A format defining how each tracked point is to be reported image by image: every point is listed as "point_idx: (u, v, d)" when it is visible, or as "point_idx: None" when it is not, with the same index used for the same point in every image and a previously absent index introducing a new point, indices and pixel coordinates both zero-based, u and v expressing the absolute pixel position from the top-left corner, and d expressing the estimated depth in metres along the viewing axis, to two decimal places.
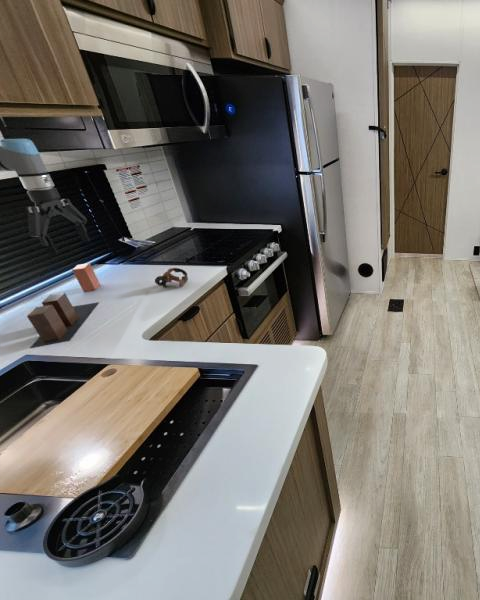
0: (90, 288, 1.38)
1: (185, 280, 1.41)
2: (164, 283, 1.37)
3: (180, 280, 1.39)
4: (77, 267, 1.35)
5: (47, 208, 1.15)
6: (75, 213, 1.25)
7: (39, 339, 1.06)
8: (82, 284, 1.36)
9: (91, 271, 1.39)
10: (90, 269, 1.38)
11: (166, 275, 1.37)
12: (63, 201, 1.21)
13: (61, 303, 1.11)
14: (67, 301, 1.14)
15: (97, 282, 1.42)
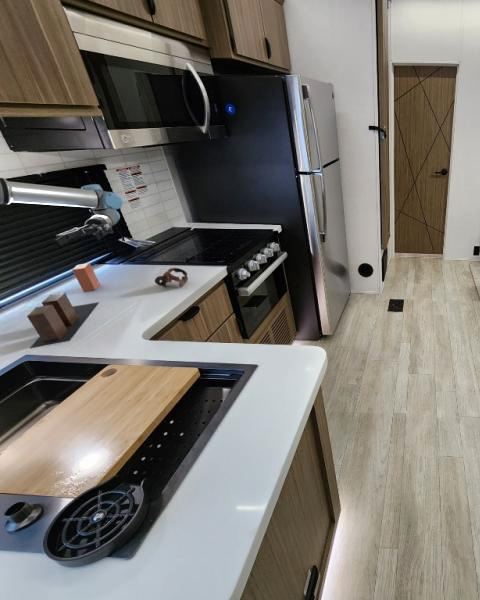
0: (90, 288, 1.38)
1: (185, 280, 1.41)
2: (164, 283, 1.37)
3: (180, 280, 1.39)
4: (77, 267, 1.35)
5: None
6: None
7: (39, 339, 1.06)
8: (82, 284, 1.36)
9: (91, 271, 1.39)
10: (90, 269, 1.38)
11: (166, 275, 1.37)
12: None
13: (61, 303, 1.11)
14: (67, 301, 1.14)
15: (97, 282, 1.42)
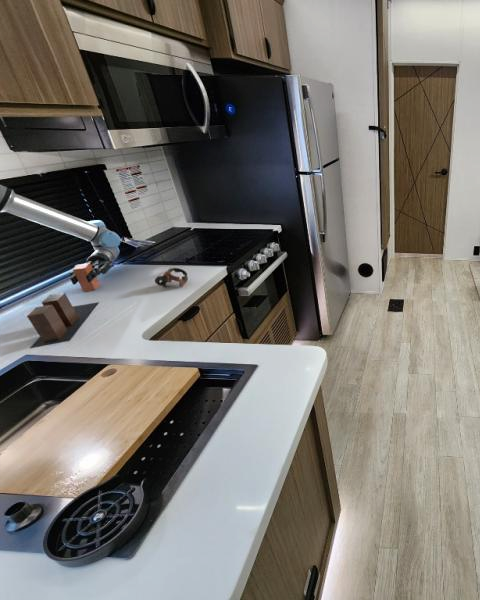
0: (90, 288, 1.38)
1: (185, 280, 1.41)
2: (164, 283, 1.37)
3: (180, 280, 1.39)
4: (77, 267, 1.35)
5: None
6: None
7: (39, 339, 1.06)
8: (82, 284, 1.36)
9: None
10: (90, 269, 1.38)
11: (166, 275, 1.37)
12: None
13: (61, 303, 1.11)
14: (67, 301, 1.14)
15: (97, 282, 1.42)
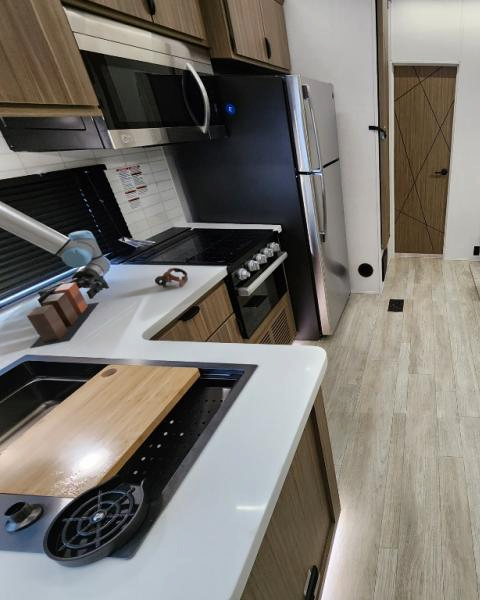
0: (76, 311, 1.20)
1: (185, 280, 1.41)
2: (164, 283, 1.37)
3: (180, 280, 1.39)
4: (60, 288, 1.17)
5: None
6: None
7: (39, 339, 1.06)
8: None
9: (77, 291, 1.21)
10: (76, 290, 1.20)
11: (166, 275, 1.37)
12: None
13: (61, 303, 1.11)
14: (67, 301, 1.14)
15: (84, 304, 1.24)
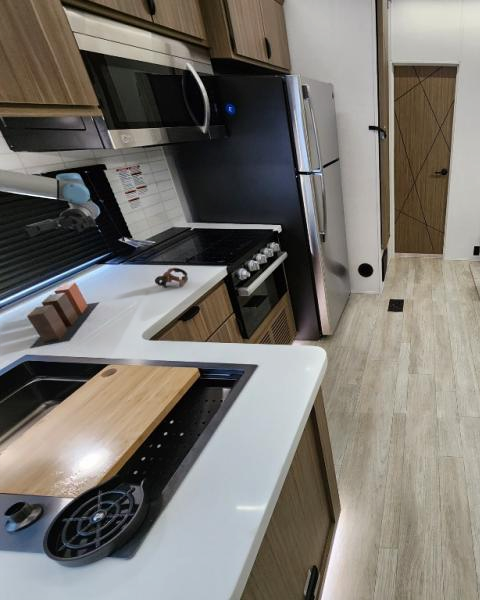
0: (76, 311, 1.20)
1: (185, 280, 1.41)
2: (164, 283, 1.37)
3: (180, 280, 1.39)
4: (60, 288, 1.17)
5: None
6: None
7: (39, 339, 1.06)
8: None
9: (77, 291, 1.21)
10: (76, 290, 1.20)
11: (166, 275, 1.37)
12: None
13: (61, 303, 1.11)
14: (67, 301, 1.14)
15: (84, 304, 1.24)
